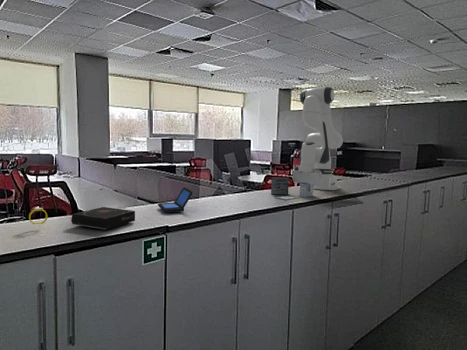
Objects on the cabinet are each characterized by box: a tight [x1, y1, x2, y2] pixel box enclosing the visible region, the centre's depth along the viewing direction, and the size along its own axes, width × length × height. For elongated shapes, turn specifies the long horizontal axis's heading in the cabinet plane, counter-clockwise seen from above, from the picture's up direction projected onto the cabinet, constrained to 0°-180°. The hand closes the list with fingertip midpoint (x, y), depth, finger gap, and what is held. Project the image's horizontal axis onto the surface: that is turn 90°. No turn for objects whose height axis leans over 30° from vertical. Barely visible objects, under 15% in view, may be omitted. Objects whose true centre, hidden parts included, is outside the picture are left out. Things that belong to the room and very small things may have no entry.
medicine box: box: [299, 182, 314, 198], centre depth 218 cm, size 8×4×9 cm, turn 133°
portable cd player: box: [70, 206, 136, 230], centre depth 141 cm, size 16×17×4 cm
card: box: [274, 195, 299, 201], centre depth 209 cm, size 12×8×1 cm, turn 129°
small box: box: [270, 176, 290, 196], centre depth 223 cm, size 11×6×10 cm, turn 84°
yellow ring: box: [28, 207, 48, 225], centre depth 134 cm, size 6×3×6 cm, turn 127°
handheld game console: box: [157, 187, 193, 213], centre depth 171 cm, size 16×13×9 cm
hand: (306, 191), depth 218 cm, fingers closed on medicine box, 4 cm apart
